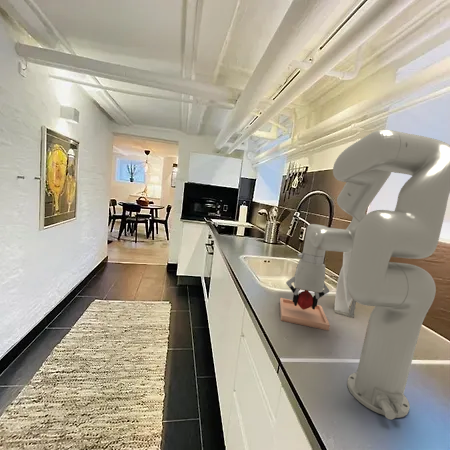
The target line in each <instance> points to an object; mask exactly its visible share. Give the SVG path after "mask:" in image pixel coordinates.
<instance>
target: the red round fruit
mask: <svg viewBox="0 0 450 450" xmlns="http://www.w3.org/2000/svg"><path fill="white" fill-rule="evenodd" d="M313 297H314V295H313V294H312V293H311V291H307V290H302V291H301V292H300V293H299V292H298V301H297V303H298V305H299V306H300V307H301V308H302V309H303V310H305V309H307V308H309V307H311V306H312V304H313Z"/></svg>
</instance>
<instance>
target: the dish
mask: <svg viewBox="0 0 450 450" xmlns="http://www.w3.org/2000/svg"><path fill="white" fill-rule="evenodd" d="M279 311H280V312H279V313H280V321H281V322H286V323H291V324H296V325H301V326H305V327H310V328H313V329H314V328H315V329H318V330H319V329H320V330H324V331H327V332H329V331H330V328H331V327H330V326H331V325H330V322H329V320H328V317H327V316H326V315H327V314H325V311H324V308H323V307H322V305H319V304H317V307H315V310H314V309H312V306H311V307H309V308H307V309H305V310H303V309H302V308H301V307H300V306H299V305H298V303H297V306H294V302H293V299H288V298H283V297H280V299H279Z"/></svg>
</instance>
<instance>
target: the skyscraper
mask: <svg viewBox="0 0 450 450" xmlns="http://www.w3.org/2000/svg"><path fill="white" fill-rule="evenodd" d="M342 253H343V254H342V266H341V268H340V271H339V275H338V278H337V282H336V288H335V297H334V298H335V301H334V305H333V309H334V313H335V314H338V315H341V316H346V317H349V318H355V309H356V303H357V302H356V301H355V300H353V299H352V297H351V296H350V294H349V291H348V288H347V274H348V268H349V263H350V258H351V253H352V250H351V251H349V252H342Z"/></svg>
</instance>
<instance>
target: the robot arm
mask: <svg viewBox="0 0 450 450" xmlns="http://www.w3.org/2000/svg"><path fill="white" fill-rule="evenodd" d="M332 173H333V178H335V179H336V181H339V182H343V183H345V184H344V185H343V188H342V189H341V191H340V192H339V194H338V196H337V198H336V203H337V205H338V207H339V208H340V209H341V210H342V211H343V212H344V213H346V214H348V216H351V217H352V219H351V221H350V222H349V224H348V226H347V227H346V228H336V227H328V226H326V225H323V224H318V223H317V224H316V223H310V224H308V225H307V226H306V232H305V236H304V244H303V248H302V249H303V250H302V252H300V253H299V252H298V253H297V257H298V258H300V259H299V261H298V263H297V267H296V270H295V273H294V276H292V277H291V278H289V279H288V280H287V281H286V286H287V287H288V288H289V289H290V290H291V292H292V293H293V295H292V296H293V297H292V300H293V302H294V306H297V301H298V294H299V292H300V291H301V290H302V291H305V290H307V291H309V292H312V293H313V292H314V295H313V304H312V309H314V310H315V307H317V305H318V302H319V300H320V298H322V297H324V296H325V295H326V294H329V293H330V289H329V287H328V285H326V283H325V278H326V265H325V264H324V260H325V255H326V251H327V252H338V253H339V252H340V253H343V252H349V251H351V250H352V253H351V258H350V263H349V268H348V274H347V288H348V291H349V294H350V296H351V297H352V300H355V301H356V303H358V305H359V304H360V305H362V306H367V307H374V308H373V309H372V311H371V313H370V315H369V318H368V320H367V322H368V323H367V326H366V331H365V335H364V339H363V344H362V349H361V353H360V358H359V361H358V365H357V370H356V372H353V373H351V374H349V376H348V377H347V381H346V383H347V389H348V390H349V392H350V394H351V395H352V396H353V397H354V398H355V400H357V401H358V402H359V403H360V404H362V405H363V406H364V407H366V408H367V409H368V410H371V411H372V412H375V413H377V414H379V415H382V416H384V417H385V418H386V419H388V420H394V419H397V418H404V417H406V416H407V415H408V414H409V412H410V408H411V407H410V405H411V404H410V401H409V400H408V398H407V397H406V395H405V390H406V386H407V382H408V378H409V375H410V370H411V366H412V362H413V359H414V355H415V350H416V346H417V344H418V339H419V335H420V332H421V328H422V325H423V322H424V320H425V318H426V316H427V313H428V312H429V310H430V308H431V306H432V305H433V303H434V300H435V298H436V297H435V296H436V291H437V288H436V282H435V280H434V278H433V276H432V275H431V273H429V272H428V271H427V270H425V269H424V268H422V267H420V266H418V265H415V264H410V263H405V262H396V261H395V262H393V261H390V260H391V258H398V259H399V258H402V259H413V260H414V259H417V260H419V259H420V260H421V259H426V258H428V257H430V256H432V255H433V254H434V253H435V251H436V249H437V248H438V244H439V241H440V236H441V233H442V228H443V223H444V220H445V215H446V210H447V206H448V200H449V196H450V144H449V143H447V142H445V141H442V140H439V139H435V138H432V137H428V136H422V135H418V134H413V133H406V132H401V131H397V130H392V129H379V130H378V129H377V130H375V131H373V132H371V133H368V134H367V135H365V136H364V137H362V138H361V139H359V140H358V141H356V142H354V143H352V144H351V145H349V146H348V147H346V148H345V149H344V150H343V151H342V152H341V153H340V154H339V155H338V157H337V158H336V159H335V162H334V164H333V167H332ZM392 173H396V174H403V175H408V176H410V178H409V179H407V180H406V182H405V183H404V184H403V186H402V187H401V188H400V190H399V193H398V195H397V201H396V205H395V208H394V210H389V209H378V210H377V209H376V210H372V211H370V212H368V213H366V211H367V209H368V207H369V206H370V205H371V203H372V202H373V201H374V199H375V197H377V195H378V193H379V192H380V191H381V189H383V188H382V187H384V185H385V183H386V182H387V181H388V180H389V177H390V176H391V174H392Z"/></svg>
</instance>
